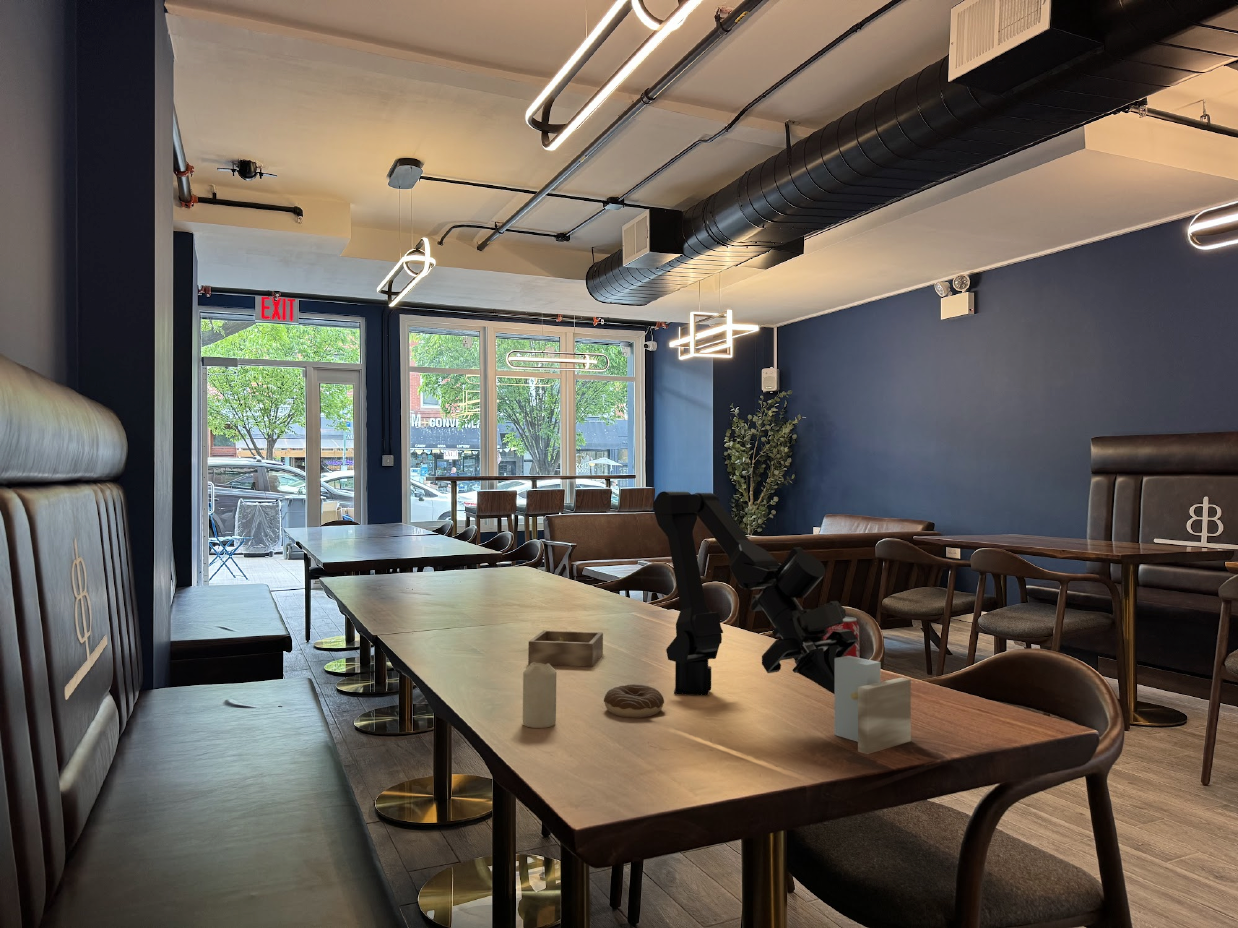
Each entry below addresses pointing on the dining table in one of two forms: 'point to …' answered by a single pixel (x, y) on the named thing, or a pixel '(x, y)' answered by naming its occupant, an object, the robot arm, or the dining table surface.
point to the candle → (539, 695)
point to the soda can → (849, 625)
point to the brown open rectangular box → (566, 648)
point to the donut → (634, 701)
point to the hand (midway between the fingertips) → (840, 693)
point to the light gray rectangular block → (851, 691)
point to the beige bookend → (884, 715)
